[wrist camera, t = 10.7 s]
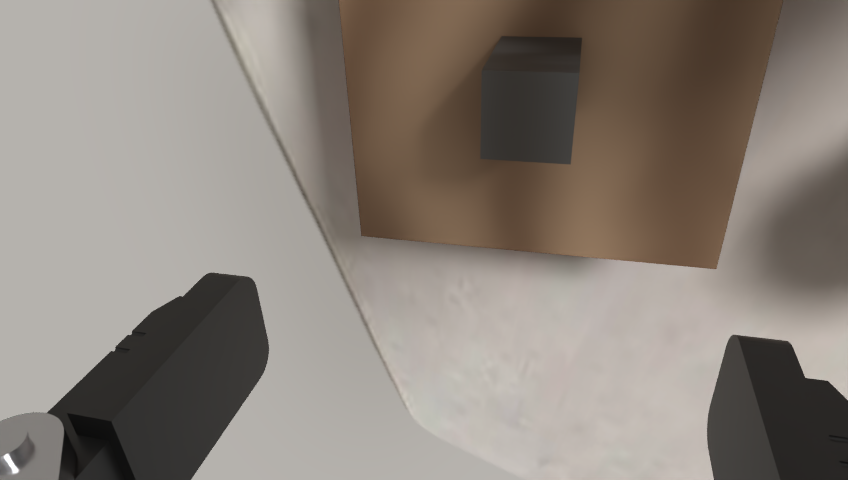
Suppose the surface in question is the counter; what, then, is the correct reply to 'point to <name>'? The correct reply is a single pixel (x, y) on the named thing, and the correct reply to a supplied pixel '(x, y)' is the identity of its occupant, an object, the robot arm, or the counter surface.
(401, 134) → the lid
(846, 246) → the counter surface
